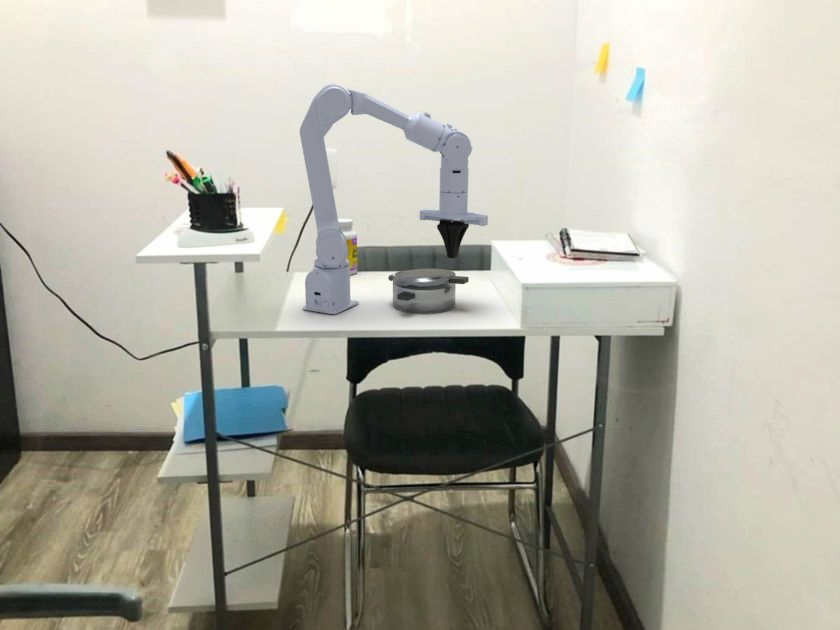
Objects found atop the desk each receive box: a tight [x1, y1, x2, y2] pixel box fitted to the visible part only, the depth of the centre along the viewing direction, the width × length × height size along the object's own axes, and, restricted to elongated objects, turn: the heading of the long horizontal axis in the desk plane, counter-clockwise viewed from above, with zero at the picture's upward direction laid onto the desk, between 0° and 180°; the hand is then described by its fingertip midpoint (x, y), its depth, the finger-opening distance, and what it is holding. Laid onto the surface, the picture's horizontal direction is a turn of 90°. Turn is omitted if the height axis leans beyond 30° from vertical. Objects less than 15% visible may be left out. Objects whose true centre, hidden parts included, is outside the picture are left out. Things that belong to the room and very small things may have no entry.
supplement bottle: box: [338, 218, 358, 276], centre depth 194 cm, size 7×7×13 cm
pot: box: [392, 282, 457, 315], centre depth 169 cm, size 19×13×5 cm
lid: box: [387, 268, 469, 287], centre depth 167 cm, size 13×17×1 cm
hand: (452, 257), depth 168 cm, fingers closed
